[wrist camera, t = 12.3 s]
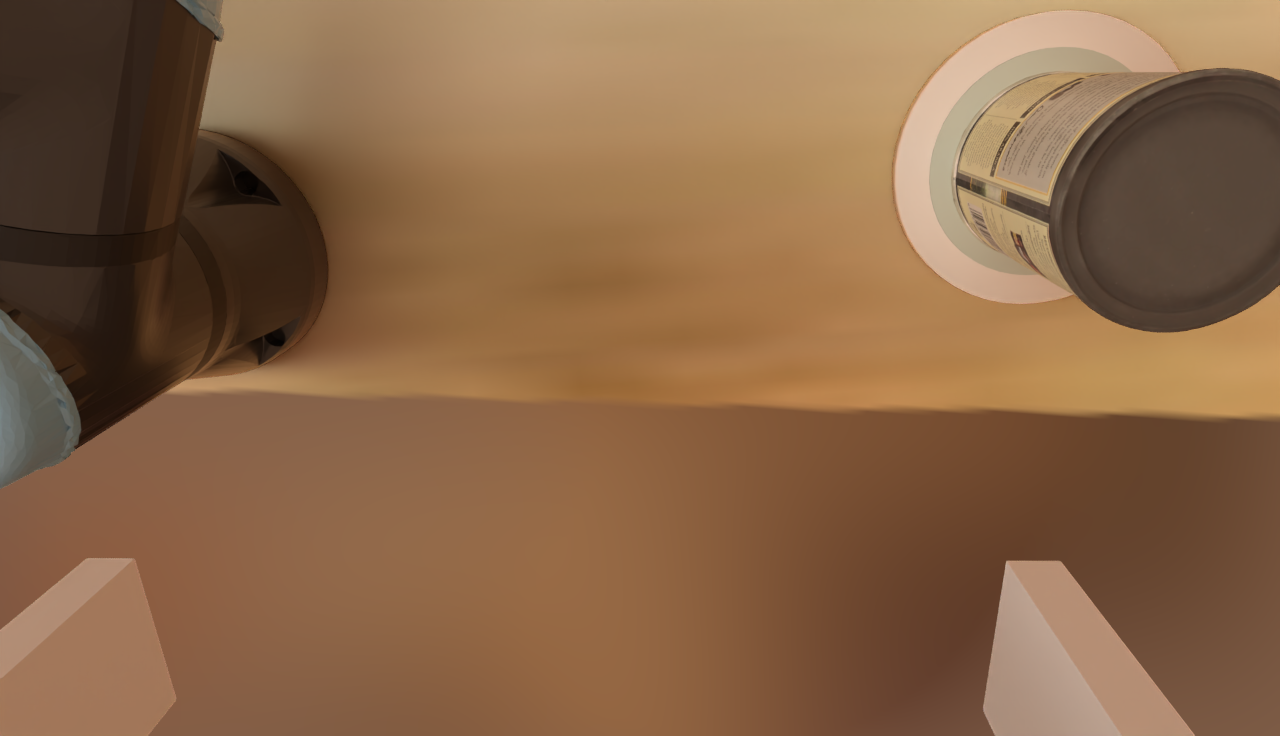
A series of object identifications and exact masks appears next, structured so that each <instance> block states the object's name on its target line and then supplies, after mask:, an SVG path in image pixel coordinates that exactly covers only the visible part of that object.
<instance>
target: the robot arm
mask: <svg viewBox="0 0 1280 736" xmlns="http://www.w3.org/2000/svg"><path fill="white" fill-rule="evenodd" d="M222 4H223V0H0V488H3V487H5V486H8V485H9V484H11V483H13V482H15V481H17V480H19V479H21V478H23V477H25V476H27V475H29V474H30V473H32V472H34V471H36V470H39V469H43V468H45V467H50V466H54V465H56V464H59V463H60V462H62V461H63V460H65V459H66V458H67V457H69V456H70V455H71V452H73V451H75V449H77V448H78V447H80V446H82V445H83V444H85V443H86V442H88V441H89V440H91V439H93V438H94V437H96V436H97V435H99V434H100V433H102V432H103V431H105V430H106V429H108V428H110V427H111V426H113V425H115V424H116V423H118V422H119V421H121V420H122V419H124V418H126V417H127V416H129V415H130V414H132V413H133V412H135V411H137V410H138V409H140V408H141V407H143V406H144V405H146V404H147V403H149V402H151V401H152V400H154V399H155V398H157V397H159V396H160V395H162V394H163V393H165V392H167V391H168V390H170V389H172V388H173V387H175V386H176V385H178V384H180V383H181V382H183V381H184V380H188V379H198V378H208V377H218V376H227V375H234V374H239V373H243V372H247V371H250V370H253V369H255V368H258V367H260V366H262V365H265V364H267V363H268V362H270V361H272V360H273V359H275V358H276V357H278V356H279V355H281V354H282V353H284V352H285V351H287V350H288V349H289V348H291V347H292V346H294V345H295V344H296V343H297V342H298V341H299V340H300V339H301V338H302V337H303V336H304V335H305V334H306V333H307V332H308V330H309V329H310V328H311V326H312V325H313V323H314V321H315V320H316V318H317V316H318V314H319V311H320V309H321V306H322V304H323V300H324V297H325V292H326V286H327V271H328V270H327V256H326V250H325V245H324V241H323V237H322V234H321V231H320V228H319V225H318V223H317V220H316V218H315V216H314V214H313V212H312V210H311V208H310V206H309V205H308V203H307V201H306V199H305V198H304V196H303V195H302V194H301V192H300V191H299V189H298V188H297V187H296V186H295V184H294V183H293V182H292V181H291V180H290V178H289V177H288V176H287V175H286V174H285V173H284V172H283V171H282V170H281V169H280V168H279V167H277V166H276V165H275V164H274V163H273V162H272V161H270V160H269V159H268V158H267V157H265V156H264V155H262V154H261V153H259V152H258V151H256V150H255V149H253V148H251V147H250V146H248V145H246V144H244V143H242V142H240V141H238V140H235V139H233V138H230V137H228V136H225V135H222V134H218V133H214V132H210V131H205V130H199V126H200V121H201V116H202V110H203V105H204V100H205V95H206V90H207V85H208V80H209V74H210V69H211V64H212V59H213V54H214V49H215V44H216V40H217V41H220V42H222V40H223V35H224V29H223V27H222V25H221V23H220V18H221V11H222ZM175 701H176V696H175V692H174V689H173V686H172V682H171V679H170V676H169V673H168V669H167V665H166V662H165V659H164V655H163V652H162V649H161V645H160V642H159V639H158V635H157V632H156V629H155V625H154V622H153V619H152V615H151V612H150V608H149V605H148V602H147V598H146V595H145V592H144V588H143V585H142V582H141V578H140V575H139V572H138V568H137V565H136V562H135V559H133V558H132V559H131V558H87V559H85V560H84V561H83V562H82V563H81V564H80V565H78V566H77V567H76V568H75V569H73V570H72V571H71V572H70V573H69V574H67V575H66V576H65V577H64V578H63V579H61V580H60V581H59V582H58V583H57V584H55V585H54V586H53V587H52V588H51V589H49V590H48V591H47V592H46V593H44V594H43V595H42V596H41V597H40V598H38V599H37V600H36V601H35V602H34V603H32V604H31V605H30V606H29V607H28V608H26V609H25V610H24V611H23V612H22V613H20V614H19V615H18V616H17V617H15V618H14V619H13V620H12V621H11V622H10V623H8V624H7V625H6V626H5V627H3V628H2V629H1V630H0V736H148V735H149V734H150V732H151V731H152V730H153V728H154V727H155V726H156V725H157V723H158V722H159V721H160V720H161V718H162V717H163V716H164V715H165V713H166V712H167V711H168V710H169V708H170V707H171V706H172V704H173V703H174V702H175ZM983 711H984V713H985V715H986V717H987V719H988V721H989V723H990V726H991V728H992V730H993V732H994V734H995V736H1195V735H1194V734H1193V733H1192V731H1191V730H1190V729H1189V727H1188V726H1187V725H1186V723H1185V722H1184V721H1183V720H1182V718H1181V717H1180V716H1179V714H1178V713H1177V712H1176V710H1175V709H1174V708H1173V707H1172V705H1171V704H1170V703H1169V701H1168V700H1167V699H1166V697H1165V696H1164V695H1163V693H1162V692H1161V691H1160V690H1159V688H1158V687H1157V686H1156V684H1155V683H1154V682H1153V681H1152V679H1151V678H1150V677H1149V675H1148V674H1147V673H1146V671H1145V670H1144V669H1143V667H1142V666H1141V665H1140V664H1139V662H1138V661H1137V660H1136V659H1135V657H1134V656H1133V654H1132V653H1131V652H1130V651H1129V649H1128V648H1127V647H1126V645H1125V644H1124V643H1123V641H1122V640H1121V639H1120V638H1119V636H1118V635H1117V634H1116V632H1115V631H1114V630H1113V629H1112V627H1111V626H1110V625H1109V623H1108V622H1107V621H1106V619H1105V618H1104V617H1103V616H1102V615H1101V613H1100V612H1099V610H1098V609H1097V608H1096V607H1095V605H1094V604H1093V603H1092V601H1091V600H1090V599H1089V597H1088V596H1087V595H1086V593H1085V592H1084V591H1083V590H1082V588H1081V587H1080V586H1079V584H1078V583H1077V582H1076V580H1075V579H1074V578H1073V577H1072V575H1071V574H1070V573H1069V571H1068V570H1067V569H1066V567H1065V566H1064V565H1063V564H1062V562H1061V561H1006V566H1005V573H1004V579H1003V586H1002V593H1001V598H1000V605H999V611H998V617H997V624H996V630H995V636H994V643H993V650H992V655H991V662H990V668H989V675H988V681H987V687H986V693H985V701H984V706H983Z"/></svg>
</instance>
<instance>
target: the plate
mask: <svg viewBox="0 0 1280 736" xmlns="http://www.w3.org/2000/svg"><path fill="white" fill-rule="evenodd" d="M1054 71H1071V72H1079V73H1097V72H1100V73H1112V72H1180V71H1179V70H1178V68H1177V67H1176V65H1175V64H1174V62H1173V61H1172V59H1171V58H1170V56H1169V55H1168V54H1167V53H1166V52H1165V51H1164V49H1163V48H1162V47H1161V46H1160V45H1159V44H1158V43H1157V42H1156V41H1155V40H1153V39H1152V38H1151V37H1150V36H1148V35H1147V34H1146V33H1144V32H1143V31H1142V30H1140V29H1138V28H1136V27H1135V26H1133V25H1131V24H1129V23H1127V22H1126V21H1123V20H1120V19H1117V18H1115V17H1112V16H1109V15H1105V14H1100V13H1095V12H1090V11H1078V10H1061V11H1050V12H1043V13H1037V14H1032V15H1028V16H1023V17H1019V18H1016V19H1013V20H1010V21H1007V22H1005V23H1002V24H999V25H997V26H995V27H993V28H991V29H989V30H987V31H985V32H983V33H981V34H979V35H977V36H976V37H974V38H973V39H971V40H970V41H968V42H967V43H965V44H964V45H962V46H961V47H960V48H959V49H957V50H956V51H955V52H954V53H953V54H952V55H950V56H949V57H948V58H947V59H946V60H945V61H944V62H943V63H942V64H941V65H940V66H939V67H938V68H937V69H936V70H935V71H934V73H933V74H932V75H931V76H930V77H929V79H928V80H927V81H926V83H925V84H924V85H923V87H922V88H921V89H920V91H919V92H918V94H917V96H916V97H915V99H914V101H913V103H912V104H911V106H910V108H909V110H908V112H907V114H906V117H905V119H904V121H903V124H902V126H901V129H900V132H899V136H898V139H897V143H896V146H895V152H894V158H893V165H892V189H893V199H894V204H895V208H896V212H897V216H898V219H899V222H900V224H901V227H902V229H903V232H904V234H905V236H906V238H907V239H908V241H909V243H910V244H911V246H912V248H913V249H914V250H915V252H916V253H917V254H918V255H919V257H920V258H921V259H922V260H923V261H924V262H925V263H926V264H927V265H928V266H929V267H930V268H931V269H932V270H933V271H934V272H935V273H937V274H938V275H939V276H940V277H942V278H943V279H945V280H946V281H947V282H949V283H950V284H952V285H953V286H955V287H957V288H959V289H961V290H963V291H965V292H967V293H969V294H971V295H974V296H977V297H980V298H983V299H986V300H991V301H996V302H1002V303H1014V304H1029V303H1041V302H1047V301H1052V300H1058V299H1061V298H1064V297H1068V296H1071V295H1073V294H1071V293H1069V292H1068V291H1066V290H1064V289H1062V288H1061V287H1059V286H1057V285H1056V284H1054V283H1052V282H1050V281H1049V280H1047V279H1045V278H1043V277H1042V276H1040V275H1038V274H1037V273H1035V272H1033V271H1031V270H1030V269H1028V268H1026V267H1024V266H1023V265H1021V264H1019V263H1018V262H1016V261H1014V260H1012V259H1011V258H1009V257H1007V256H1006V255H1004V254H1002V253H999V252H996V251H994V250H993V249H991V248H989V247H987V246H986V245H984V244H983V243H981V242H980V241H979V240H978V239H977V238H976V237H975V236H974V235H973V234H972V233H971V232H970V231H969V230H968V229H967V227H966V226H965V224H964V223H963V221H962V219H961V218H960V216H959V213H958V211H957V209H956V206H955V204H954V200H953V194H952V184H951V176H952V166H953V161H954V157H955V153H956V150H957V147H958V145H959V143H960V140H961V137H962V135H963V133H964V131H965V129H966V128H967V127H968V125H969V124H970V122H971V121H972V119H973V118H974V116H975V115H976V114H977V113H978V111H979V110H980V109H981V108H982V107H983V106H984V105H985V104H986V103H987V102H988V101H989V100H990V99H991V98H993V97H994V96H995V95H996V94H998V93H999V92H1000V91H1002V90H1003V89H1005V88H1007V87H1008V86H1010V85H1012V84H1014V83H1016V82H1017V81H1019V80H1022V79H1024V78H1026V77H1030V76H1033V75H1037V74H1041V73H1046V72H1054Z"/></svg>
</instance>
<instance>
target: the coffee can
mask: <svg viewBox="0 0 1280 736" xmlns="http://www.w3.org/2000/svg"><path fill="white" fill-rule="evenodd" d="M951 184H952V194H953V200H954V204H955V206H956V209H957V211H958V213H959V216H960V218H961V219H962V221H963V223H964V224H965V226H966V227H967V229H968V230H969V231H970V232H971V233H972V234H973V235H974V236H975V237H976V238H977V239H978V240H979V241H980V242H981V243H983V244H984V245H986V246H987V247H989V248H991V249H993V250H994V251H996V252H999V253H1002V254H1004V255H1006V256H1007V257H1009V258H1011V259H1012V260H1014V261H1016V262H1018V263H1019V264H1021V265H1023V266H1024V267H1026V268H1028V269H1030V270H1031V271H1033V272H1035V273H1037V274H1038V275H1040V276H1042V277H1043V278H1045V279H1047V280H1049V281H1050V282H1052V283H1054V284H1056V285H1057V286H1059V287H1061V288H1062V289H1064V290H1066V291H1068V292H1069V293H1071V294H1073V295H1075V296H1076V297H1078V298H1080V300H1081V301H1083V302H1084V303H1085V304H1086V305H1087V306H1088V307H1089V308H1091V309H1092V310H1094V311H1095V312H1097V313H1098V314H1100V315H1101V316H1103V317H1105V318H1106V319H1109V320H1111V321H1113V322H1115V323H1118V324H1120V325H1123V326H1126V327H1129V328H1133V329H1138V330H1142V331H1150V332H1180V331H1188V330H1192V329H1197V328H1201V327H1205V326H1208V325H1211V324H1214V323H1217V322H1220V321H1222V320H1225V319H1227V318H1229V317H1232V316H1234V315H1236V314H1238V313H1240V312H1242V311H1244V310H1246V309H1248V308H1249V307H1251V306H1253V305H1254V304H1256V303H1257V302H1259V301H1260V300H1261V299H1263V298H1264V297H1266V296H1267V295H1268V294H1270V293H1271V292H1272V291H1273V290H1274V289H1275V288H1276V287H1278V286H1279V285H1280V81H1279V80H1277V79H1274V78H1272V77H1270V76H1267V75H1264V74H1260V73H1257V72H1254V71H1249V70H1241V69H1229V68H1216V69H1204V70H1196V71H1190V72H1112V73H1100V72H1097V73H1079V72H1071V71H1054V72H1046V73H1041V74H1037V75H1033V76H1030V77H1026V78H1024V79H1022V80H1019V81H1017V82H1016V83H1014V84H1012V85H1010V86H1008V87H1007V88H1005V89H1003V90H1002V91H1000V92H999V93H998V94H996V95H995V96H994V97H993V98H991V99H990V100H989V101H988V102H987V103H986V104H985V105H984V106H983V107H982V108H981V109H980V110H979V111H978V113H977V114H976V115H975V116H974V118H973V119H972V121H971V122H970V124H969V125H968V127H967V128H966V129H965V131H964V133H963V135H962V137H961V140H960V143H959V145H958V147H957V150H956V153H955V157H954V161H953V166H952V176H951Z"/></svg>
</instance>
